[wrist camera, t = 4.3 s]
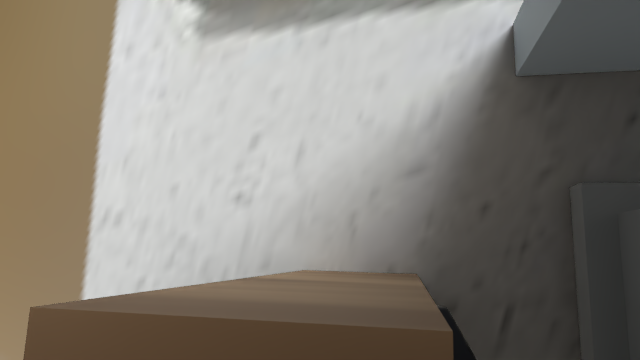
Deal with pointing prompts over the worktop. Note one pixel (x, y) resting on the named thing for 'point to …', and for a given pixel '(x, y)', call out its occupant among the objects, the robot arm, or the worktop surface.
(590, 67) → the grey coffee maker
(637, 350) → the socket
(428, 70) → the worktop surface
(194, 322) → the peg
